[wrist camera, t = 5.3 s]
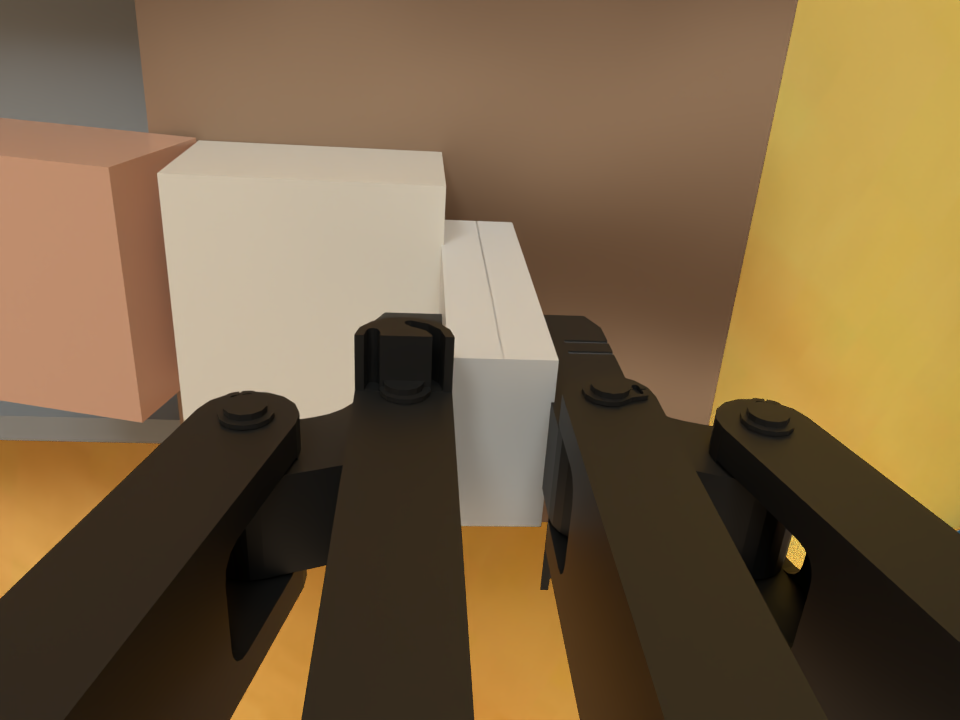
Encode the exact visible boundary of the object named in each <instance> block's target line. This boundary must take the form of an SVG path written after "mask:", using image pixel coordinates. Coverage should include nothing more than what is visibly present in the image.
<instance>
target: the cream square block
mask: <svg viewBox="0 0 960 720" xmlns="http://www.w3.org/2000/svg"><path fill="white" fill-rule="evenodd" d="M157 178H158V187H159V197H160V206H161V215H162V224H163V234H164V243H165V252H166V261H167V271H168V280H169V289H170V299H171V308H172V317H173V326H174V336H175V345H176V354H177V363H178V373H179V382H180V391H181V400H182V410H183V419H184V421H185V420H186V419H187V418H188V417H189V416H190V415H191V414H192V413H193V412H194V411H195V410H196V409H198V408H199V407H201V406H202V405H204V404H205V403H207V402H208V401H210V400H212V399H215V398H218V397H221V396H224V395H227V394H229V393H233V392H238V391H239V393H240V392H242V391H250V390H251V391H255V392H268V393H272V394H276V395H280V396H284V397H286V398H287V399H289V400H290V401H292V402H293V403H295V404H296V406H297V409H298V411H299V414H300V419H304V418H311V417H317V416H321V415H326V414H330V413H333V412H336V411H338V410H341V409H343V408H345V407H346V406H348V405H350V404H352V403H353V399H354V393H355V360H354V334H355V333H356V331H357V330H358V329H359V327H361V326H363V325H365V324H367V323H369V322H371V321H375V320H376V319H377V318H379V317H380V316H381V315H382V314H383V313H385V312H391V313H425V314H439V301H440V274H441V247H442V245H444V223H445V200H446V181H445V173H444V165H443V157H442V152H432V151H411V150H390V149H369V148H348V147H328V146H307V145H286V144H265V143H244V142H223V141H203V140H199V141H197V142H196V143H195V144H194V145H192V146H191V147H190V148H188V149H187V150H186V151H185V152H183V153H182V154H181V155H180V156H178V157H177V158H176V159H174V160H173V161H172V162H171V163H169V164H168V165H167V166H166V167H164V168H163V169H162V170H160V171H159V172H158V173H157Z"/></svg>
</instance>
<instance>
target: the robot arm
mask: <svg viewBox="0 0 960 720" xmlns="http://www.w3.org/2000/svg"><path fill="white" fill-rule="evenodd" d="M354 360H355V393H354V399H353V403H352V404H350V405H348V406H346V407H345V408H343V409H341V410H338V411H336V412H333V413H330V414H326V415H321V416H317V417H311V418H304V419H300V414H299V411H298V409H297V406H296V404H295V403H293V402H292V401H290V400H289V399H287V398H286V397H284V396H280V395H276V394H272V393H268V392H255V391H251V390H250V391H242V392H240V393H239V391H238V392H233V393H229V394H227V395H224V396H221V397H218V398H215V399H212V400H210V401H208V402H207V403H205V404H204V405H202V406H201V407H199V408H198V409H196V410H195V411H194V412H193V413H192V414H191V415H190V416H189V417H188V418H187V419H186V420H185V421H184V422H183V423H182V424H181V425H180V426H179V427H178V428H177V429H176V430H175V431H174V432H173V433H172V434H171V435H169V436H168V437H167V438H166V439H165V440H164V441H163V442H162V443H161V444H160V445H159V446H158V447H157V448H156V449H155V450H154V451H153V452H152V453H151V454H150V455H149V456H148V457H147V458H146V459H145V460H144V461H143V462H141V463H140V464H139V465H138V466H137V467H136V468H135V469H134V470H133V471H132V472H131V473H130V474H129V475H128V476H127V477H126V478H125V479H124V480H123V481H122V482H121V483H120V484H119V485H118V486H117V487H116V488H115V489H114V490H112V491H111V492H110V493H109V494H108V495H107V496H106V497H105V498H104V499H103V500H102V501H101V502H100V503H99V504H98V505H97V506H96V507H95V508H94V509H93V510H92V511H91V512H90V513H89V514H88V515H87V516H86V517H84V518H83V519H82V520H81V521H80V522H79V523H78V524H77V525H76V526H75V527H74V528H73V529H72V530H71V531H70V532H69V533H68V534H67V535H66V536H65V537H64V538H63V539H62V540H61V541H60V542H59V543H58V544H56V545H55V546H54V547H53V548H52V549H51V550H50V551H49V552H48V553H47V554H46V555H45V556H44V557H43V558H42V559H41V560H40V561H39V562H38V563H37V564H36V565H35V566H34V567H33V568H32V569H31V570H30V571H28V572H27V573H26V574H25V575H24V576H23V577H22V578H21V579H20V580H19V581H18V582H17V583H16V584H15V585H14V586H13V587H12V588H11V589H10V590H9V591H8V592H7V593H6V594H5V595H4V596H3V597H2V598H0V720H230V719H231V717H232V715H233V713H234V711H235V710H236V708H237V706H238V704H239V702H240V701H241V699H242V697H243V695H244V693H245V692H246V690H247V688H248V686H249V685H250V683H251V681H252V679H253V677H254V676H255V674H256V672H257V670H258V668H259V667H260V665H261V663H262V661H263V659H264V658H265V656H266V654H267V652H268V650H269V649H270V647H271V645H272V643H273V641H274V640H275V638H276V636H277V634H278V632H279V631H280V629H281V627H282V625H283V623H284V622H285V620H286V618H287V616H288V615H289V613H290V611H291V609H292V607H293V606H294V604H295V602H296V600H297V598H298V597H299V595H300V593H301V591H302V589H303V588H304V584H305V580H306V576H307V569H311V568H316V567H320V566H325V565H326V571H325V578H324V584H323V590H322V596H321V602H320V608H319V615H318V621H317V627H316V633H315V639H314V645H313V651H312V658H311V664H310V670H309V676H308V682H307V688H306V695H305V701H304V707H303V713H302V719H301V720H474V710H473V695H472V680H471V665H470V650H469V635H468V621H467V606H466V591H465V576H464V561H463V546H462V531H461V526H523V527H541V522H542V512H543V503H544V499H545V504H546V508H547V513H548V525H547V534H546V543H545V552H544V561H543V570H542V579H541V588H540V590H548V586H549V580H550V578H551V579H552V584H553V589H554V594H555V599H556V604H557V609H558V614H559V619H560V624H561V629H562V634H563V639H564V644H565V649H566V654H567V658H568V663H569V668H570V673H571V678H572V683H573V688H574V693H575V698H576V703H577V708H578V713H579V718H580V720H960V533H958V532H957V531H956V530H954V529H953V528H952V527H950V526H949V525H948V524H947V523H945V522H944V521H943V520H941V519H940V518H939V517H937V516H936V515H935V514H933V513H932V512H931V511H930V510H928V509H927V508H926V507H924V506H923V505H922V504H920V503H919V502H918V501H916V500H915V499H914V498H913V497H911V496H910V495H909V494H907V493H906V492H905V491H903V490H902V489H901V488H899V487H898V486H897V485H896V484H894V483H893V482H892V481H890V480H889V479H888V478H886V477H885V476H884V475H882V474H881V473H880V472H879V471H877V470H876V469H875V468H873V467H872V466H871V465H869V464H868V463H867V462H865V461H864V460H863V459H862V458H860V457H859V456H858V455H856V454H855V453H854V452H852V451H851V450H850V449H848V448H847V447H846V446H845V445H843V444H842V443H841V442H839V441H838V440H837V439H835V438H834V437H833V436H831V435H830V434H829V433H828V432H826V431H825V430H824V429H822V428H821V427H820V426H818V425H817V424H816V423H814V422H813V421H812V420H811V419H809V418H808V417H806V416H804V415H803V414H801V413H799V412H798V411H796V410H794V409H792V408H789V407H786V406H783V405H780V403H778V402H775V401H771V400H766V401H764V399H758V398H753V399H738V400H734V401H729V402H725V403H724V404H722V405H721V406H720V407H719V408H717V410H716V415H715V420H714V425H713V426H709V425H703V424H698V423H693V422H687V421H683V420H678V419H674V418H670V417H668V416H666V414H665V412H664V410H663V409H662V407H661V405H660V403H659V401H658V399H657V397H656V396H655V395H654V394H653V393H652V391H651V390H650V389H649V388H648V387H646V386H644V385H642V384H640V383H638V382H636V381H634V380H631V379H627V378H625V376H624V374H623V372H622V370H621V368H620V366H619V364H618V362H617V360H616V358H615V356H614V355H613V351H612V349H611V347H610V345H609V344H607V339H606V337H605V335H604V333H603V331H602V329H601V327H599V326H598V325H596V324H595V323H593V322H592V321H591V320H589V319H588V318H586V317H585V316H571V315H543V312H542V309H541V306H540V303H539V300H538V297H537V294H536V292H535V289H534V286H533V283H532V280H531V277H530V274H529V271H528V268H527V265H526V262H525V259H524V256H523V253H522V250H521V247H520V244H519V241H518V238H517V235H516V232H515V229H514V226H513V224H512V222H490V221H463V220H445V223H444V245H442V247H441V274H440V301H439V314H425V313H391V312H385V313H383V314H382V315H381V316H380V317H379V318H377V319H376V320H375V321H371V322H369V323H367V324H365V325H363V326H361V327H359V329H358V330H357V331H356V333H355V334H354ZM792 535H793V536H794V537H795V538H796V539H797V540H798V541H799V542H800V543H801V545H802V546H803V547H804V549H805V551H806V556H805V560H804V563H803V566H802V568H801V569H800V570H799V569H798V568H797V567H795V566H794V565H793V564H792V563H791V562H790V561H789V560H788V559H787V558H786V555H787V551H788V547H789V544H790V540H791V536H792Z"/></svg>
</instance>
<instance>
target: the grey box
mask: <svg viewBox="0 0 960 720" xmlns="http://www.w3.org/2000/svg"><path fill="white" fill-rule="evenodd" d="M0 118H8V119H18V120H28V121H38V122H47V123H57V124H67V125H77V126H86V127H96V128H106V129H116V130H126V131H135V132H145V133H149V131H148V122H147V112H146V103H145V94H144V84H143V75H142V66H141V57H140V47H139V38H138V29H137V20H136V10H135V1H134V0H0ZM179 426H180V418H179V409H178V400H177V393H176V394H175V395H174V396H173V397H172V398H171V399H169V400H168V401H167V402H166V403H165V404H164V405H163V406H161V407H160V408H159V409H158V410H157V411H156V412H154V413H153V414H152V415H151V416H150V417H149V418H147V419H146V420H145V421H144V422H143V423H141V422H134V421H128V420H121V419H115V418H109V417H102V416H96V415H90V414H83V413H77V412H71V411H64V410H58V409H52V408H45V407H39V406H33V405H26V404H20V403H13V402H7V401H1V400H0V440H28V441H74V442H120V443H162V442H163V441H164V440H165V439H166V438H167V437H168V436H169V435H171V434H172V433H173V432H174V431H175V430H176V429H177V428H178V427H179Z"/></svg>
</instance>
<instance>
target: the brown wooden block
mask: <svg viewBox="0 0 960 720" xmlns="http://www.w3.org/2000/svg"><path fill="white" fill-rule="evenodd" d="M134 1H135V10H136V20H137V29H138V38H139V47H140V57H141V66H142V75H143V84H144V94H145V103H146V112H147V122H148V131H149V133H155V134H165V135H175V136H184V137H194V138H196V142H197V141H199V140H203V141H223V142H244V143H265V144H286V145H307V146H328V147H348V148H369V149H390V150H411V151H432V152H442V157H443V165H444V173H445V181H446V200H445V220H463V221H490V222H512V224H513V226H514V229H515V232H516V235H517V238H518V241H519V244H520V247H521V250H522V253H523V256H524V259H525V262H526V265H527V268H528V271H529V274H530V277H531V280H532V283H533V286H534V289H535V292H536V294H537V297H538V300H539V303H540V306H541V309H542V312H543V315H571V316H585V317H586V318H588V319H589V320H591V321H592V322H593V323H595V324H596V325H598V326H599V327H601V329H602V331H603V333H604V335H605V337H606V339H607V344H609V345H610V347H611V349H612V351H613V355H614V356H615V358H616V360H617V362H618V364H619V366H620V368H621V370H622V372H623V374H624V376H625V378H627V379H631V380H634V381H636V382H638V383H640V384H642V385H644V386H646V387H648V388H649V389H650V390H651V391H652V393H653V394H654V395H655V396H656V397H657V399H658V401H659V403H660V405H661V407H662V409H663V410H664V412H665V414H666V416H668V417H670V418H674V419H678V420H683V421H687V422H693V423H698V424H703V425H709V420H710V415H711V411H712V406H713V401H714V396H715V392H716V387H717V382H718V377H719V373H720V368H721V363H722V358H723V354H724V349H725V344H726V339H727V335H728V330H729V325H730V321H731V316H732V311H733V306H734V302H735V297H736V292H737V287H738V283H739V278H740V273H741V268H742V264H743V259H744V254H745V249H746V245H747V240H748V235H749V230H750V226H751V221H752V216H753V211H754V207H755V202H756V197H757V192H758V188H759V183H760V178H761V174H762V169H763V164H764V159H765V155H766V150H767V145H768V140H769V136H770V131H771V126H772V121H773V117H774V112H775V107H776V102H777V98H778V93H779V88H780V83H781V79H782V74H783V69H784V64H785V60H786V55H787V50H788V45H789V41H790V36H791V31H792V26H793V22H794V17H795V12H796V8H797V3H798V0H134ZM177 400H178V409H179V418H180V425H181V424H182V423H183V422H184V419H183V410H182V400H181V391H179V392H178V393H177ZM542 522H548V513H547V508H546V504H545V499H544V503H543V512H542Z"/></svg>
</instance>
